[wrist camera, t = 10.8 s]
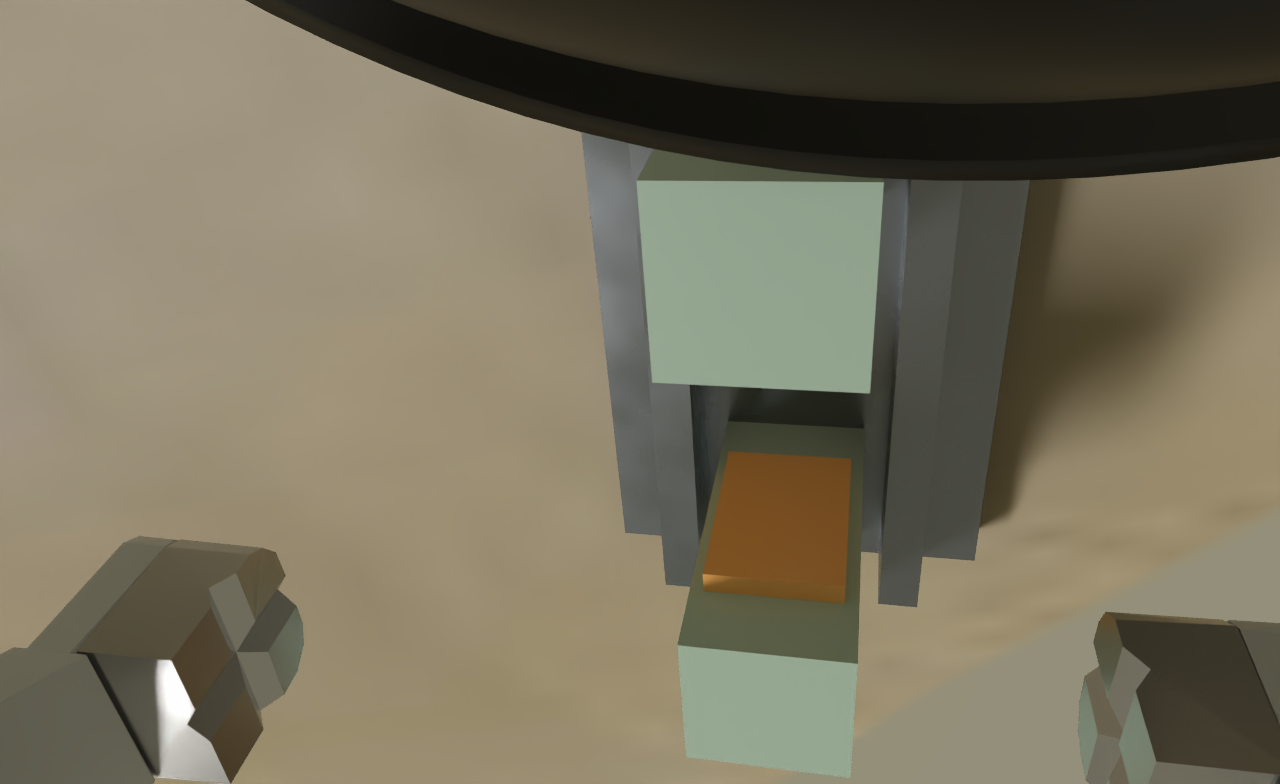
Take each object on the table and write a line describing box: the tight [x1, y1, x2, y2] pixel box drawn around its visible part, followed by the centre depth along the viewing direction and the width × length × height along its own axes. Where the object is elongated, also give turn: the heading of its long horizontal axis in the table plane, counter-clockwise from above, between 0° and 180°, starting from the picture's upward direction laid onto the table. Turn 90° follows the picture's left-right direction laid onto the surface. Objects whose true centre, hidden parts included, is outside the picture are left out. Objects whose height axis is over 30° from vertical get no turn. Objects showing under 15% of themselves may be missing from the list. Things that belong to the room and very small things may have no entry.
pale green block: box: [636, 149, 884, 393], centre depth 19 cm, size 4×4×8 cm
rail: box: [582, 132, 1030, 607], centre depth 24 cm, size 10×15×3 cm, turn 4°
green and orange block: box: [677, 421, 864, 778], centre depth 24 cm, size 4×4×8 cm
